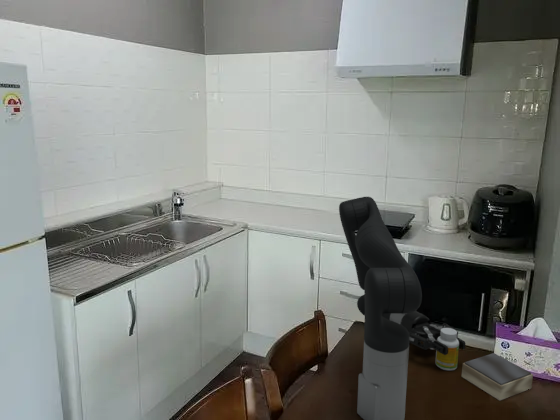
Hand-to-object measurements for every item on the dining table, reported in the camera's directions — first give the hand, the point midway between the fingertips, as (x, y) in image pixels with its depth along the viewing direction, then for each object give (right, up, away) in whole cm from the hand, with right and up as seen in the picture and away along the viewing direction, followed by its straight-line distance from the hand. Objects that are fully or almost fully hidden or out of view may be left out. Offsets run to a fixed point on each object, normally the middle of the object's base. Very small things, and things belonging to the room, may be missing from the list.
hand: (455, 348), depth 115 cm
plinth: (+8, -7, -4) cm, 12 cm away
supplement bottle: (-1, -6, +3) cm, 7 cm away
